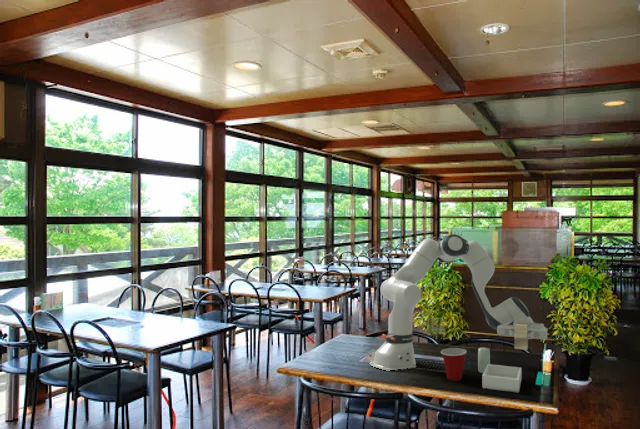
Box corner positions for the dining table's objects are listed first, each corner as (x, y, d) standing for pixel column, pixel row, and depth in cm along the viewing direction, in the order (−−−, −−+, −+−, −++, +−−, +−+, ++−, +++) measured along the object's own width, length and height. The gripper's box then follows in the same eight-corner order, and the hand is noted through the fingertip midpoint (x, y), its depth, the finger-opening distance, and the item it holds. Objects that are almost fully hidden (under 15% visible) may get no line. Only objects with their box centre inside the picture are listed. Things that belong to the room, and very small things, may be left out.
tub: (518, 392, 195) (518, 379, 195) (482, 388, 201) (482, 375, 201) (521, 379, 211) (521, 367, 211) (487, 375, 217) (487, 363, 217)
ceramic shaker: (485, 373, 219) (485, 350, 220) (475, 371, 224) (475, 348, 224) (492, 371, 222) (492, 349, 222) (482, 369, 226) (482, 346, 227)
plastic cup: (438, 374, 219) (438, 347, 219) (463, 374, 218) (463, 347, 218) (443, 382, 208) (443, 353, 208) (469, 382, 207) (469, 353, 208)
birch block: (527, 350, 209) (527, 325, 210) (514, 348, 211) (514, 324, 212) (527, 347, 214) (527, 323, 214) (515, 346, 216) (515, 322, 216)
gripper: (498, 319, 229) (495, 325, 216) (547, 324, 220) (547, 330, 208) (498, 333, 229) (495, 340, 216) (547, 338, 220) (547, 345, 208)
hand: (521, 335), depth 212 cm, fingers closed on birch block, 5 cm apart
